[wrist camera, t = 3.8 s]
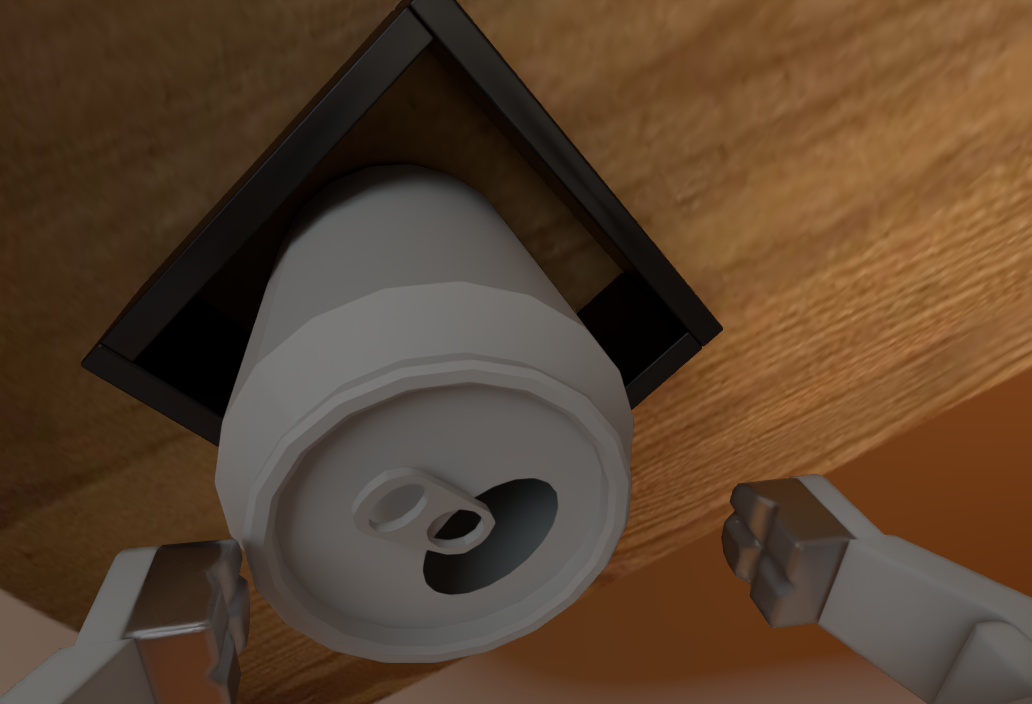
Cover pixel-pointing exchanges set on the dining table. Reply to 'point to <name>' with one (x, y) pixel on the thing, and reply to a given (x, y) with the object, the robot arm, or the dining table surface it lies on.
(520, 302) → the can
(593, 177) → the frame
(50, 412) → the dining table surface
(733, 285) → the dining table surface
